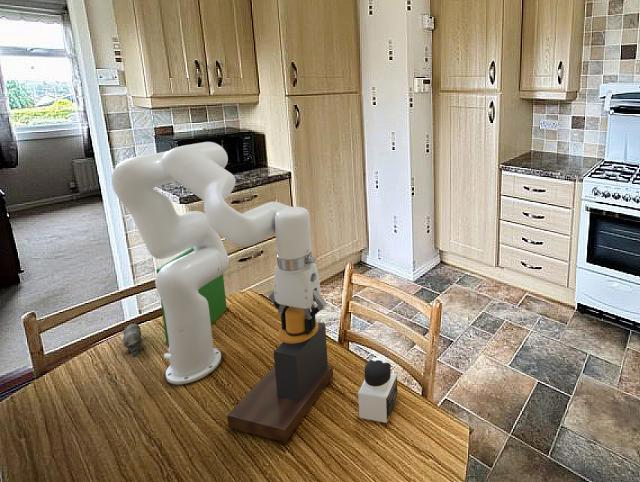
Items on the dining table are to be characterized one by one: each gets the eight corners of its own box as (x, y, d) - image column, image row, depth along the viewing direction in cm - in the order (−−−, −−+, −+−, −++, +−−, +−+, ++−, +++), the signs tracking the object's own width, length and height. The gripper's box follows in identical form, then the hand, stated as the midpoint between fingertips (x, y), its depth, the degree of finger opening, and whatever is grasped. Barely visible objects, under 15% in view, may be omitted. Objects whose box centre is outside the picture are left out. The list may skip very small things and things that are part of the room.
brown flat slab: (228, 430, 84) (226, 415, 83) (284, 368, 102) (283, 355, 101) (286, 445, 80) (284, 429, 80) (333, 378, 98) (332, 365, 98)
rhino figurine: (125, 367, 103) (122, 347, 102) (124, 341, 113) (121, 323, 112) (145, 359, 105) (142, 340, 104) (141, 335, 115) (139, 318, 114)
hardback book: (205, 308, 129) (198, 243, 125) (226, 308, 129) (219, 243, 125) (166, 343, 112) (156, 269, 108) (190, 343, 112) (181, 269, 108)
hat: (270, 339, 88) (268, 318, 87) (294, 316, 96) (293, 297, 95) (303, 346, 86) (302, 324, 85) (325, 322, 94) (324, 302, 93)
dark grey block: (276, 396, 88) (272, 351, 86) (307, 360, 100) (304, 319, 98) (299, 401, 87) (295, 355, 85) (327, 364, 98) (325, 323, 96)
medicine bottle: (387, 424, 85) (386, 378, 83) (358, 418, 87) (356, 373, 85) (398, 398, 92) (396, 355, 90) (371, 393, 94) (369, 351, 92)
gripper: (335, 257, 89) (338, 324, 92) (274, 248, 93) (278, 313, 96) (317, 272, 82) (321, 345, 85) (252, 262, 86) (257, 332, 89)
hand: (298, 327), depth 91 cm, fingers closed on hat, 5 cm apart
